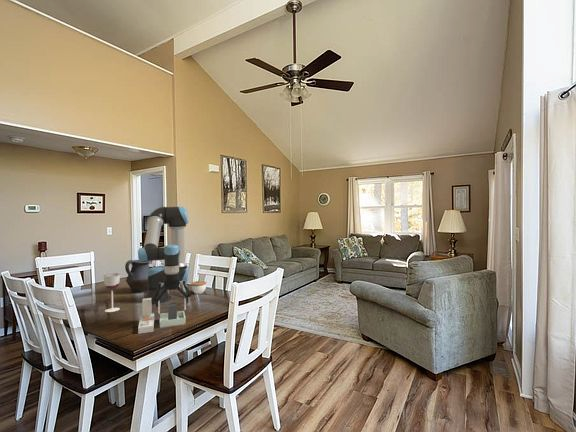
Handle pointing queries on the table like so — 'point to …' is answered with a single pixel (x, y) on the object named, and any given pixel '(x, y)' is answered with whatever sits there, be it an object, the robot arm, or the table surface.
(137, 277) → the pitcher
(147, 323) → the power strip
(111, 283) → the wineglass
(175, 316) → the black charger
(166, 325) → the tray
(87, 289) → the table surface
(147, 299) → the white charger
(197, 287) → the white round bowl
